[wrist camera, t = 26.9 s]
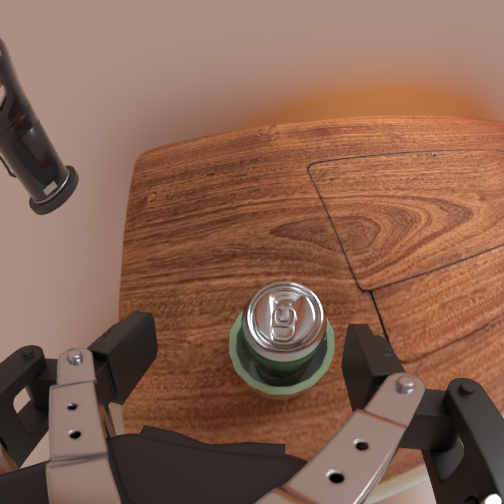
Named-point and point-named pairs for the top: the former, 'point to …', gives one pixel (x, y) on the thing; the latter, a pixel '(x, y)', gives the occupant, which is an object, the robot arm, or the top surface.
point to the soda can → (283, 330)
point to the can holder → (273, 391)
